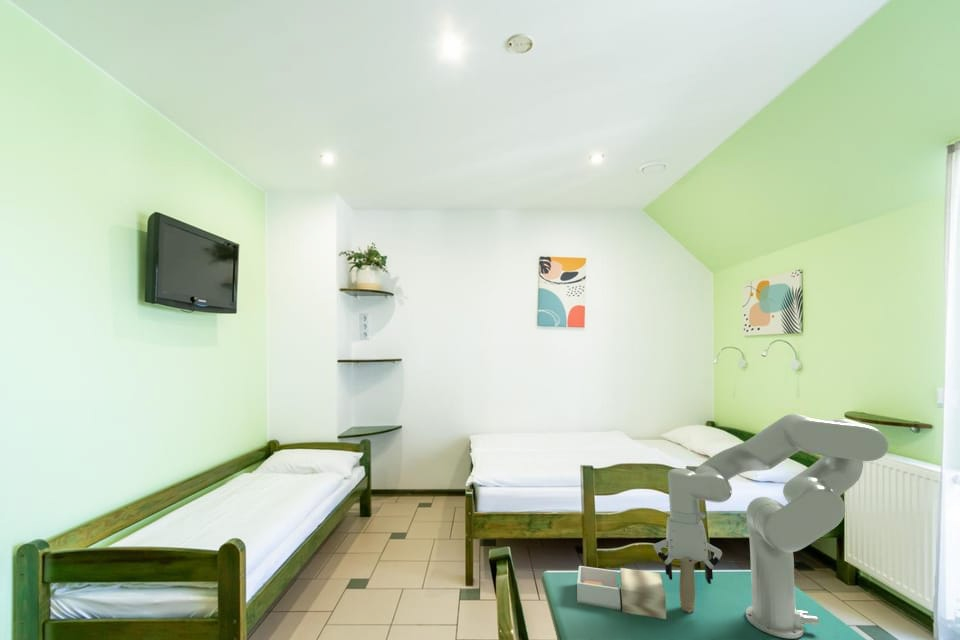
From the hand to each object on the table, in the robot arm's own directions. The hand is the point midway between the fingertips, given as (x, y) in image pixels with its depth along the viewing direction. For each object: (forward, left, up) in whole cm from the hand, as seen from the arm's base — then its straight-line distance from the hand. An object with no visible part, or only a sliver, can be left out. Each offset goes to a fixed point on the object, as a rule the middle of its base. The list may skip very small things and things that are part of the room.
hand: (689, 579), depth 119 cm
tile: (+26, +1, -5) cm, 26 cm away
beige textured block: (+12, 0, -8) cm, 15 cm away
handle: (+1, 0, -8) cm, 8 cm away
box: (+24, 0, -8) cm, 25 cm away
